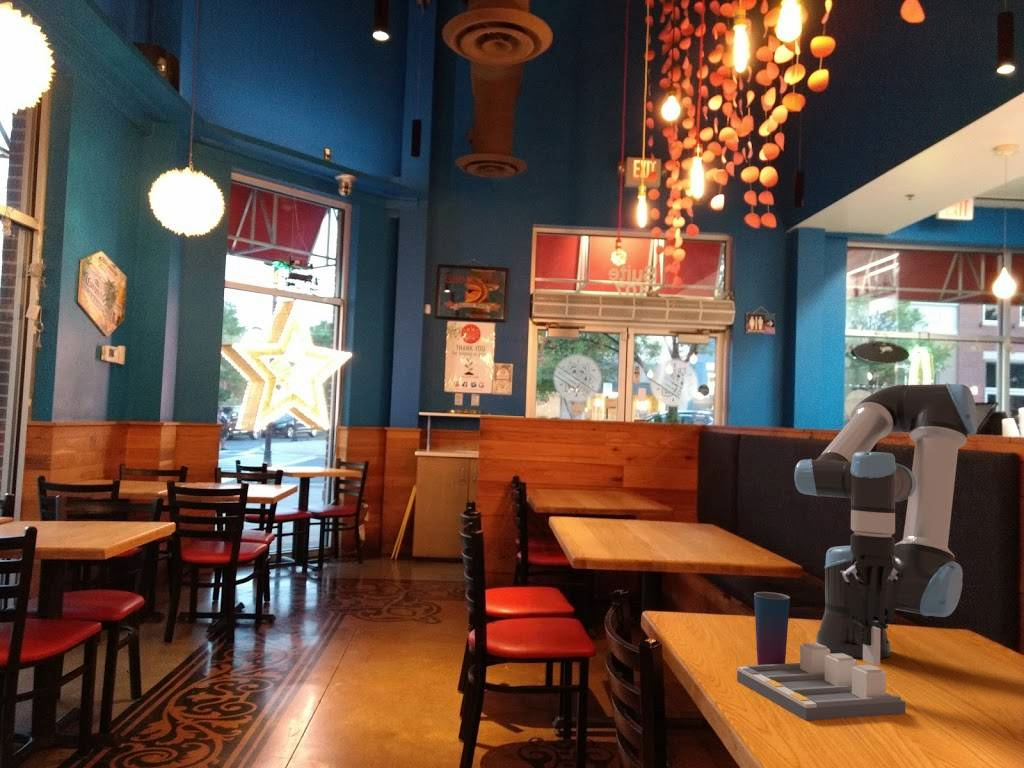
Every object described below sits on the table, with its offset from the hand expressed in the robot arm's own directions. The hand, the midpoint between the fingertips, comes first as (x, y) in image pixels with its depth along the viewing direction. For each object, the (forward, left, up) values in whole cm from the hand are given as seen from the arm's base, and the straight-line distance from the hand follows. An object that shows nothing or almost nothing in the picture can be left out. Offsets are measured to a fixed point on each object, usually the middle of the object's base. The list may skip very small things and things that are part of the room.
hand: (871, 662), depth 137 cm
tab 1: (+7, -7, -3) cm, 10 cm away
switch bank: (+12, 0, -6) cm, 13 cm away
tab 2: (+7, +7, -3) cm, 10 cm away
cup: (+11, -14, -6) cm, 19 cm away
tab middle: (+7, 0, -3) cm, 7 cm away
